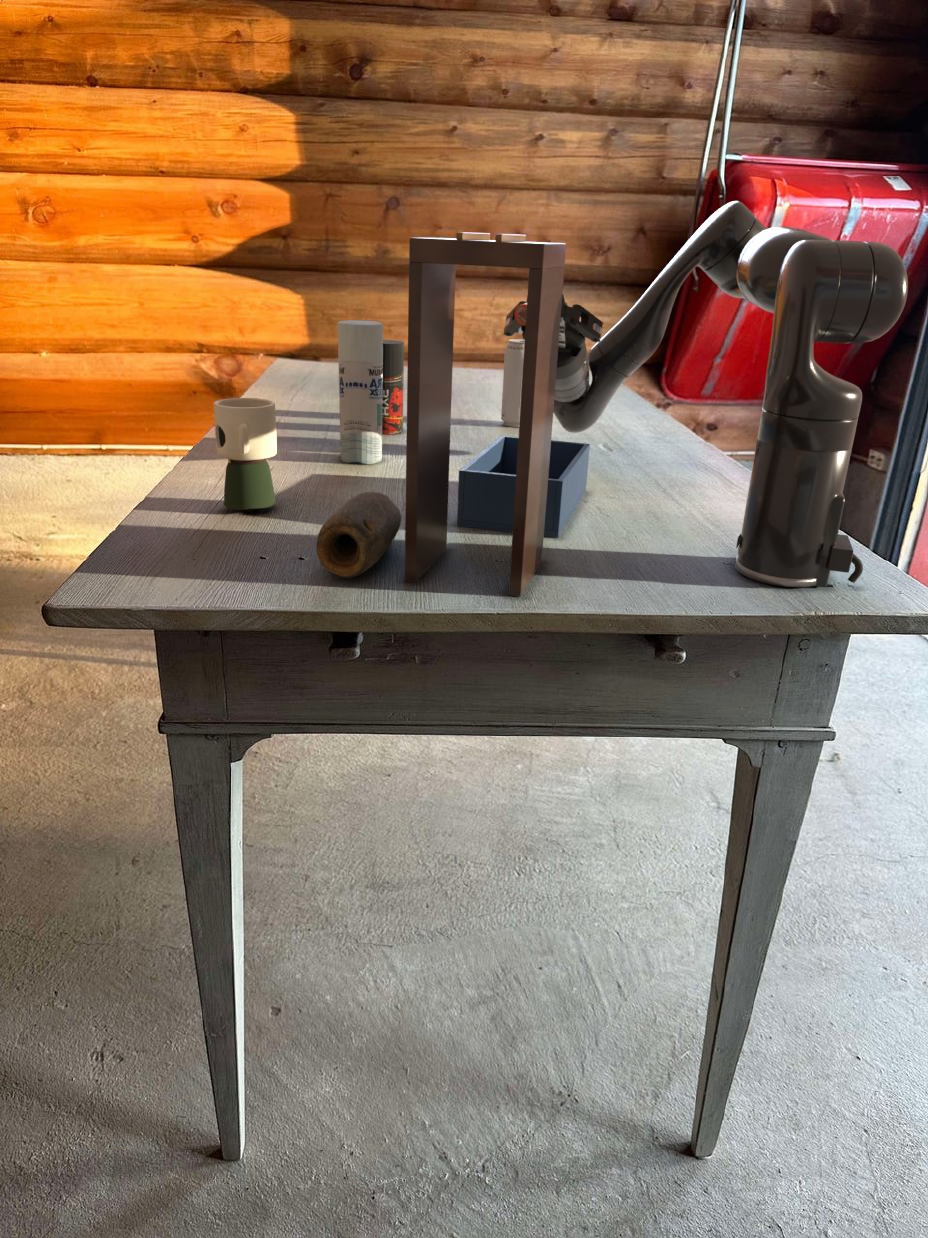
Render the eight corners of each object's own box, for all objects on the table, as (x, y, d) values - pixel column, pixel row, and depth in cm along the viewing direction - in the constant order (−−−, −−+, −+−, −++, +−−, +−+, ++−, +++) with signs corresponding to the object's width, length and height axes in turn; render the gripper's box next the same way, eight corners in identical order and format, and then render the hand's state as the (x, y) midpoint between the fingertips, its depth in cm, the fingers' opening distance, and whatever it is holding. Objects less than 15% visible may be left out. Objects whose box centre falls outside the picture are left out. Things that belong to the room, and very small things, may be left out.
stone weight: (383, 587, 90) (383, 522, 87) (313, 582, 90) (311, 518, 88) (403, 540, 104) (404, 483, 101) (342, 536, 104) (342, 479, 102)
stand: (541, 561, 99) (566, 236, 86) (520, 597, 89) (545, 235, 76) (436, 548, 102) (445, 231, 89) (404, 581, 92) (409, 229, 79)
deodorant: (372, 434, 156) (372, 343, 150) (366, 427, 161) (365, 339, 155) (406, 433, 158) (407, 343, 152) (398, 426, 163) (399, 339, 157)
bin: (585, 492, 126) (590, 443, 124) (558, 537, 107) (562, 481, 104) (498, 483, 129) (501, 435, 127) (456, 525, 110) (458, 470, 107)
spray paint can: (345, 453, 142) (344, 319, 134) (386, 456, 142) (387, 321, 134) (334, 462, 136) (332, 323, 129) (377, 465, 136) (377, 325, 128)
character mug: (223, 496, 117) (216, 394, 112) (280, 496, 118) (275, 394, 113) (217, 521, 107) (209, 410, 102) (278, 521, 109) (274, 411, 104)
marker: (533, 325, 101) (534, 304, 100) (513, 324, 102) (514, 303, 101) (560, 313, 117) (561, 295, 116) (543, 312, 117) (544, 294, 116)
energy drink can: (515, 420, 173) (520, 338, 167) (539, 425, 169) (545, 341, 163) (494, 423, 169) (498, 339, 163) (518, 429, 165) (524, 343, 159)
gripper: (515, 325, 129) (493, 262, 112) (613, 332, 126) (605, 268, 109) (507, 376, 128) (483, 320, 111) (604, 384, 125) (595, 327, 108)
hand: (543, 294), depth 110 cm, fingers closed on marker, 2 cm apart
